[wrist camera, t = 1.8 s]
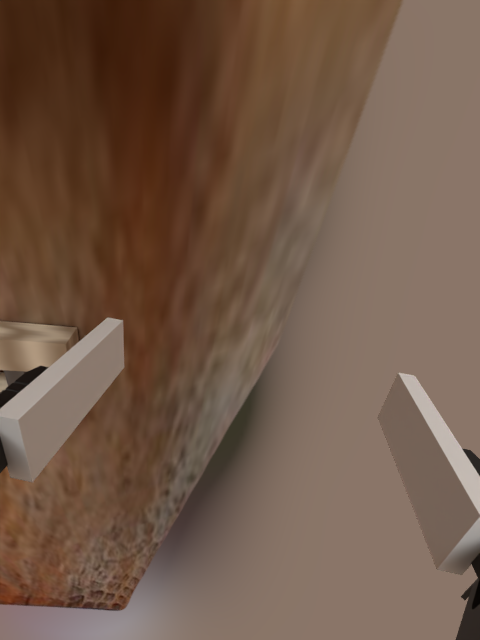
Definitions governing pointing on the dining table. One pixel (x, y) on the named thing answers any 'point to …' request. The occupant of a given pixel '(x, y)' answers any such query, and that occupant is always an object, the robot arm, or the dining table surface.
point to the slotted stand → (31, 347)
